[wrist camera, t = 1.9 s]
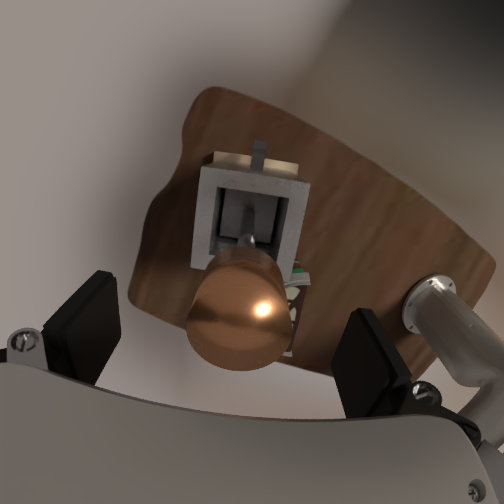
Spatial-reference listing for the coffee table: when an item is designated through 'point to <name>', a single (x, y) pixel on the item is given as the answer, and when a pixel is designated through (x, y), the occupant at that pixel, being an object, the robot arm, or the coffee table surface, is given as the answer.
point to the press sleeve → (252, 180)
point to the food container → (295, 297)
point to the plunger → (242, 292)
